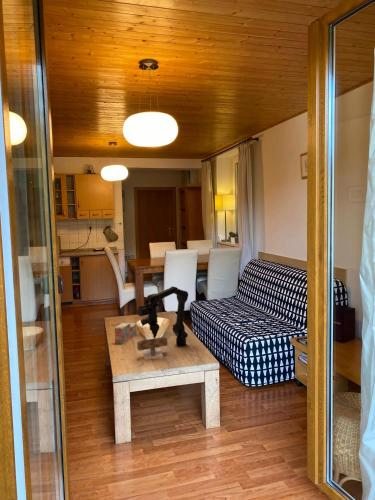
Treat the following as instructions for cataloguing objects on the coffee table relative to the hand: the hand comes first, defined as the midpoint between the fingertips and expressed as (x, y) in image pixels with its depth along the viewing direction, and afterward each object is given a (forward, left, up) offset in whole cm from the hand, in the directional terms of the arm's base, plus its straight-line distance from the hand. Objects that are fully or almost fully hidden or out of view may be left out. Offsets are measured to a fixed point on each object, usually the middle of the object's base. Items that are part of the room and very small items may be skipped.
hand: (153, 335), depth 269 cm
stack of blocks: (+18, -32, -12) cm, 39 cm away
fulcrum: (+1, +5, -12) cm, 13 cm away
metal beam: (+2, +5, -6) cm, 8 cm away
